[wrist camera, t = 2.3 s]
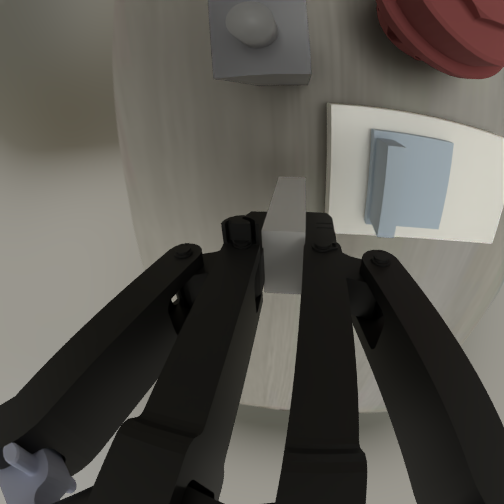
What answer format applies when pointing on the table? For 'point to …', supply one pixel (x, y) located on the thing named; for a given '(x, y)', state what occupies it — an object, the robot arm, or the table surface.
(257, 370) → the table surface
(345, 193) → the socket
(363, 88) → the table surface
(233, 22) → the plug
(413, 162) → the panel
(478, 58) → the mechanical component
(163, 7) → the table surface
